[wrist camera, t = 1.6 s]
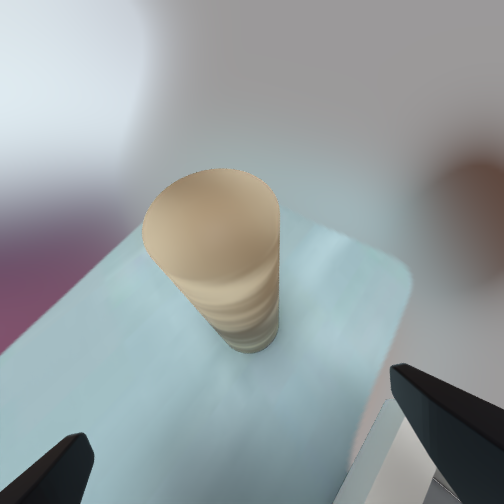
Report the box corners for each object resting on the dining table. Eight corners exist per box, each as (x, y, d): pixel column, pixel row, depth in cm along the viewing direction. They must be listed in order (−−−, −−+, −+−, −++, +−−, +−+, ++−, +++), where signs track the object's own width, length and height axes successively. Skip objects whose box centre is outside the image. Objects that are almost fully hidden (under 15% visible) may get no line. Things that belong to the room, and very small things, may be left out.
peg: (252, 367, 19) (208, 309, 7) (208, 326, 21) (115, 226, 9) (290, 317, 21) (308, 203, 9) (246, 284, 22) (211, 153, 11)
